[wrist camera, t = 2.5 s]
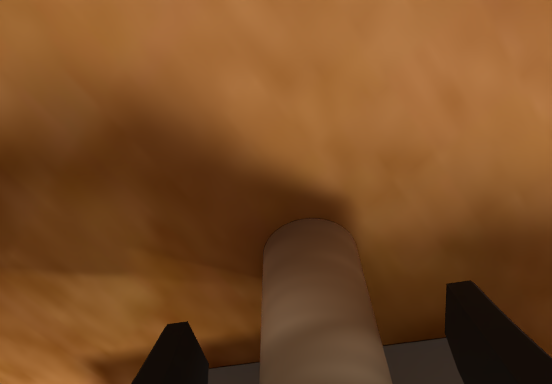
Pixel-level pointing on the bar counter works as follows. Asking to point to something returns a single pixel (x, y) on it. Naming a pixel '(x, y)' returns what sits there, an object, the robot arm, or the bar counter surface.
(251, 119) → the bar counter surface
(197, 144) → the bar counter surface
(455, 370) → the socket block
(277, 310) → the dowel
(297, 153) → the bar counter surface
